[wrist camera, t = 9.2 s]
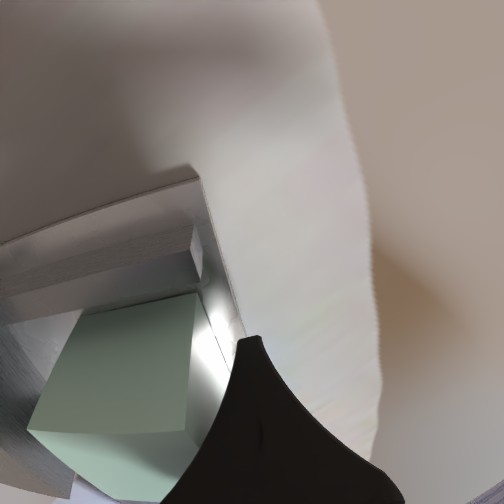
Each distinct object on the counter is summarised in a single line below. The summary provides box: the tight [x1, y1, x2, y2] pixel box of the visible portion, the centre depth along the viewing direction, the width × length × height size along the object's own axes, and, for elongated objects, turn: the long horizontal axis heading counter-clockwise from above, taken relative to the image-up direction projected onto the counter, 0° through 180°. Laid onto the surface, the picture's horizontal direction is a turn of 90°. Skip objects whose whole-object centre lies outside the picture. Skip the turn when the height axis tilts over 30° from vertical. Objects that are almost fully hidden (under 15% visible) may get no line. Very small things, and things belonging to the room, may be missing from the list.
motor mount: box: [0, 177, 247, 499], centre depth 10 cm, size 13×18×6 cm
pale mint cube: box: [27, 293, 230, 502], centre depth 10 cm, size 5×5×6 cm
